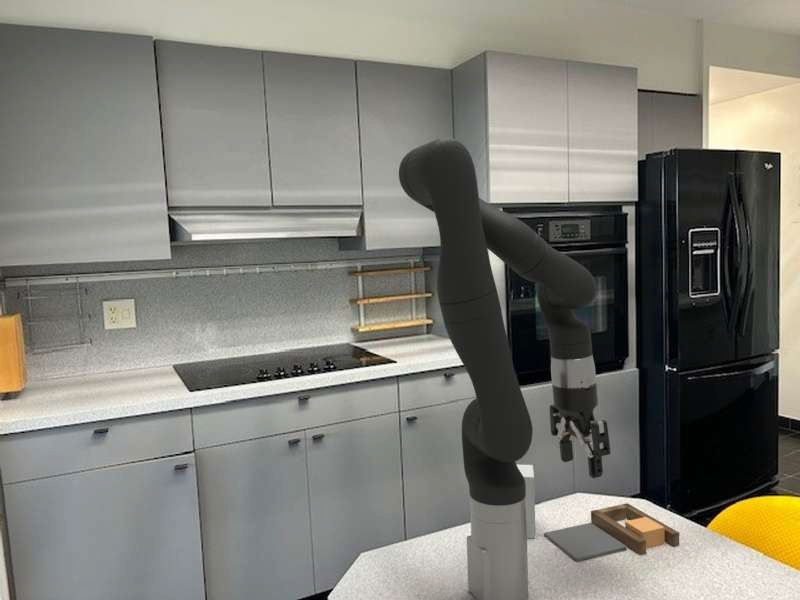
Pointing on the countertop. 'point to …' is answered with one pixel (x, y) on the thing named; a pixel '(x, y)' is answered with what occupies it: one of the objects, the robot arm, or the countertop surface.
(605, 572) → the countertop surface
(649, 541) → the block
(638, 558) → the countertop surface
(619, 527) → the cubby
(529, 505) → the supplement box
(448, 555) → the countertop surface
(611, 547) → the mat
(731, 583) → the countertop surface
